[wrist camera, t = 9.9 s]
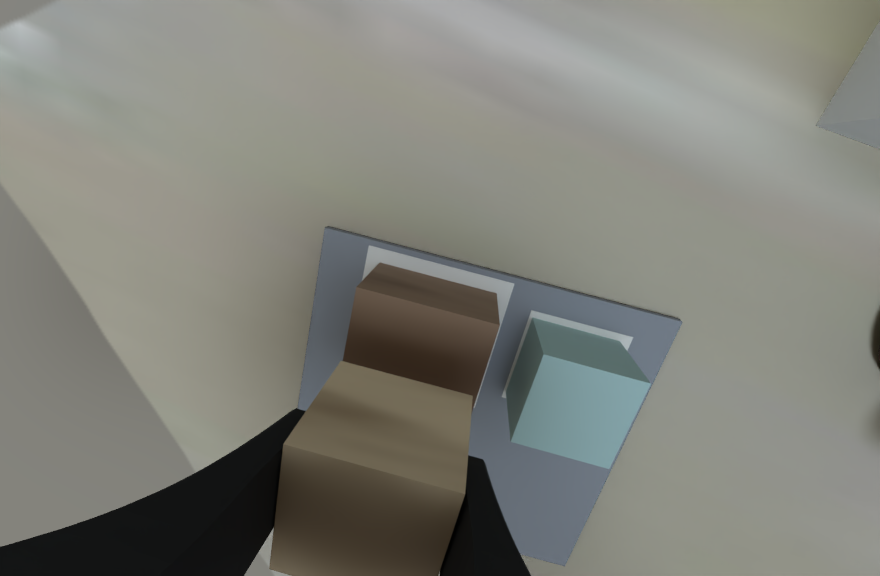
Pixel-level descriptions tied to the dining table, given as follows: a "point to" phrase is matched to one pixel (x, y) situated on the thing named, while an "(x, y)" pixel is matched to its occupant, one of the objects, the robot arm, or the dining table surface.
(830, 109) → the milk
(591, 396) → the teal block
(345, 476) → the oak block
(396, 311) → the walnut base
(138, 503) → the robot arm
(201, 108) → the dining table surface
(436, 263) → the blueprint mat
